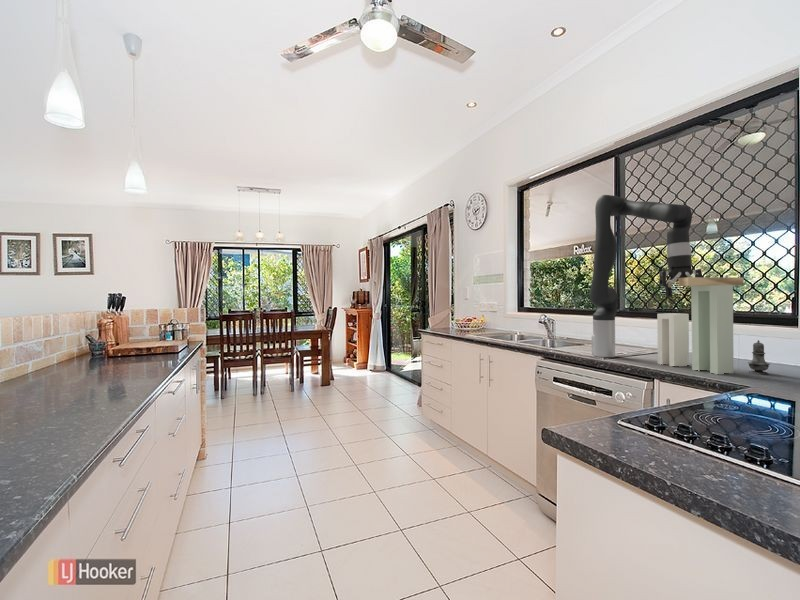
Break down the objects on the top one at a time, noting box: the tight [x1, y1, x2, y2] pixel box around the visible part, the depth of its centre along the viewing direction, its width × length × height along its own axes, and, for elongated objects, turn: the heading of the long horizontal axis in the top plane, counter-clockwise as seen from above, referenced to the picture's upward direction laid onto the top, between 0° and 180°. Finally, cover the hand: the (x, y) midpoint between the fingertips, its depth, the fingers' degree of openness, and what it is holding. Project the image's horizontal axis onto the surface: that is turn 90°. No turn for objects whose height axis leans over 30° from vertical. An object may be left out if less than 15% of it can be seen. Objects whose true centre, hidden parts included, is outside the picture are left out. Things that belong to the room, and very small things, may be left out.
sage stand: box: [690, 285, 735, 375], centre depth 141 cm, size 9×8×32 cm
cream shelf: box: [656, 312, 690, 367], centre depth 155 cm, size 7×8×21 cm
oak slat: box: [678, 276, 745, 287], centre depth 141 cm, size 4×28×3 cm, turn 106°
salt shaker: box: [747, 339, 771, 376], centre depth 137 cm, size 6×6×12 cm
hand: (681, 296), depth 147 cm, fingers open, 8 cm apart
